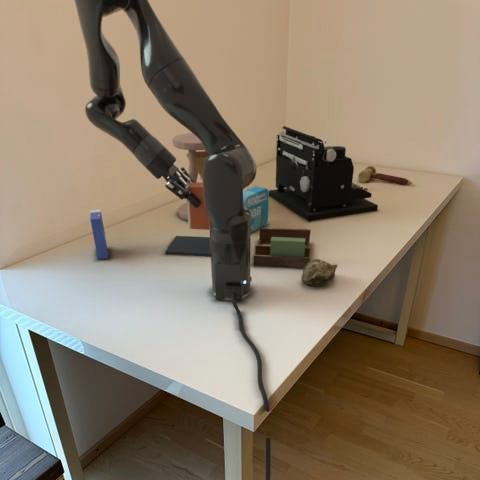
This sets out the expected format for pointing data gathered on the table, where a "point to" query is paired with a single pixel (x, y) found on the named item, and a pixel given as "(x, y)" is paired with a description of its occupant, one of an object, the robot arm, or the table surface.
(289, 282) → the table surface
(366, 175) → the gavel
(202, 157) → the hourglass
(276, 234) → the book rack
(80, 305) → the table surface
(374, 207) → the typewriter
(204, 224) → the book
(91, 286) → the table surface
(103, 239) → the walkman
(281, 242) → the paperback
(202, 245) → the slate mat
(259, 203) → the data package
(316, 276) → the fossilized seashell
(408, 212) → the table surface
